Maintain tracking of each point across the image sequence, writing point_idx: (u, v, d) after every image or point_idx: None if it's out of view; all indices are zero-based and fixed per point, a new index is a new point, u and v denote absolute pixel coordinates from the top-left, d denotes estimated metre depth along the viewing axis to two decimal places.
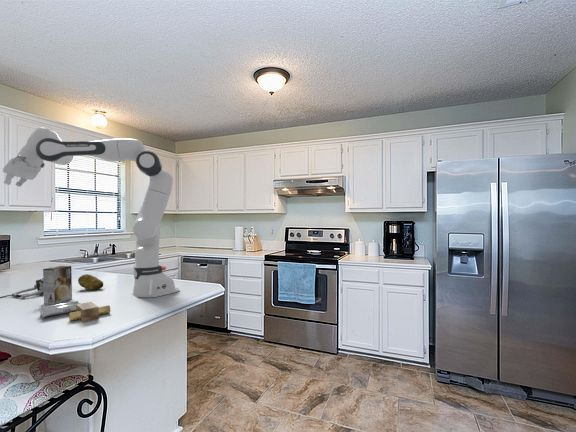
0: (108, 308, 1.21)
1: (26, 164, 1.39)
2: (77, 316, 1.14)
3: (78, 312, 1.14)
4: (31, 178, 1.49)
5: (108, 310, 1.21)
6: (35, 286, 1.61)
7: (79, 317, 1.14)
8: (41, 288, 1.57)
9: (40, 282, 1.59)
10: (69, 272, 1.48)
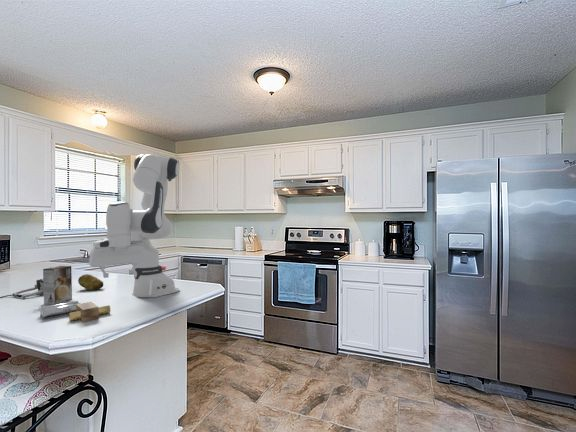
0: (108, 308, 1.21)
1: None
2: (77, 316, 1.14)
3: (78, 312, 1.14)
4: None
5: (108, 310, 1.21)
6: (36, 286, 1.61)
7: (79, 317, 1.14)
8: (42, 288, 1.57)
9: (41, 282, 1.59)
10: (69, 272, 1.48)
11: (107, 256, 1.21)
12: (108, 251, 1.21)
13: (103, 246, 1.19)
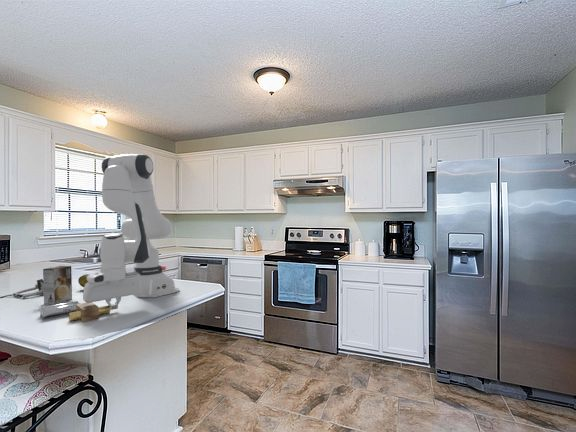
0: (108, 308, 1.21)
1: None
2: (77, 316, 1.14)
3: (78, 312, 1.14)
4: None
5: (108, 310, 1.21)
6: (36, 286, 1.62)
7: (79, 317, 1.14)
8: (42, 288, 1.57)
9: (41, 282, 1.59)
10: (69, 272, 1.48)
11: (101, 290, 1.19)
12: (102, 285, 1.19)
13: (98, 281, 1.17)
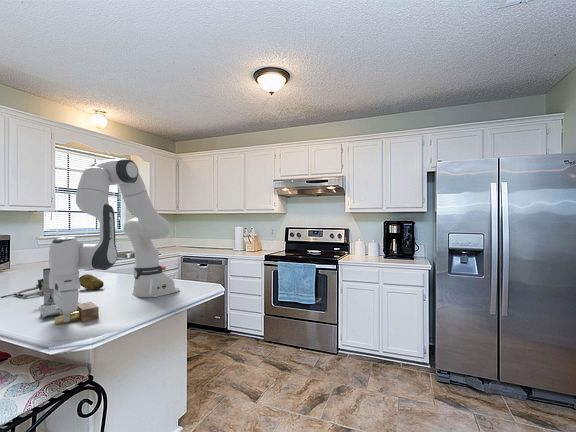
0: None
1: None
2: None
3: None
4: (63, 310, 1.06)
5: None
6: (37, 286, 1.62)
7: None
8: (43, 287, 1.58)
9: (42, 282, 1.60)
10: None
11: None
12: None
13: None
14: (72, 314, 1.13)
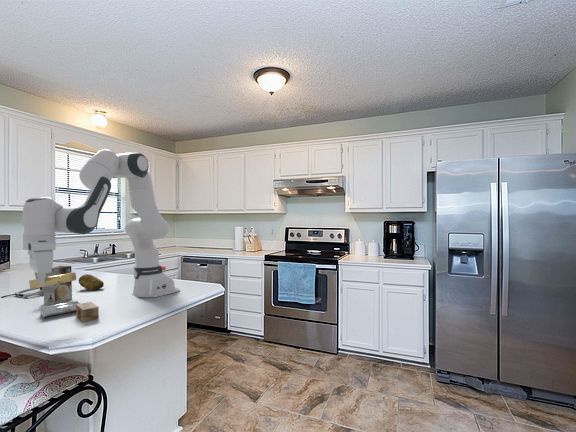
0: (73, 275, 1.13)
1: None
2: (37, 283, 1.05)
3: None
4: (36, 271, 1.00)
5: (73, 277, 1.13)
6: None
7: None
8: (43, 287, 1.58)
9: None
10: (69, 272, 1.48)
11: None
12: None
13: None
14: (48, 278, 1.08)
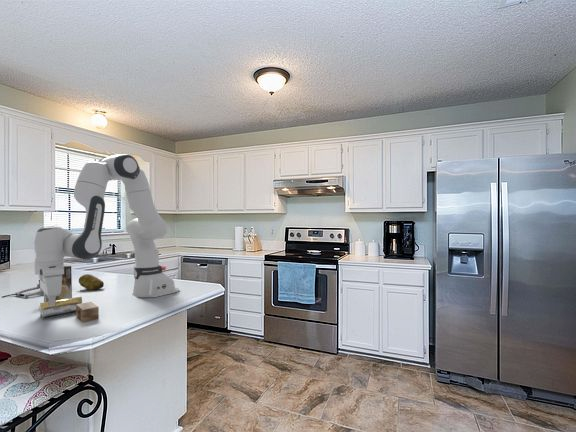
0: (80, 299, 1.25)
1: None
2: (48, 306, 1.17)
3: None
4: (47, 294, 1.12)
5: (80, 301, 1.25)
6: (38, 285, 1.63)
7: (50, 307, 1.18)
8: None
9: None
10: (69, 272, 1.48)
11: None
12: None
13: None
14: (57, 301, 1.20)
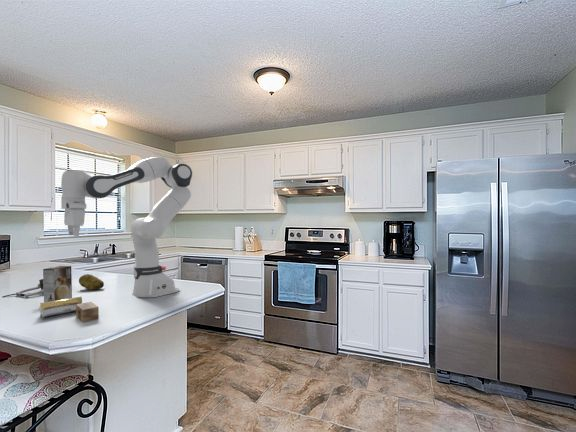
0: (80, 299, 1.25)
1: None
2: (48, 306, 1.17)
3: (49, 303, 1.18)
4: (72, 224, 1.33)
5: (80, 301, 1.25)
6: (39, 285, 1.63)
7: (50, 307, 1.18)
8: None
9: None
10: (69, 272, 1.48)
11: None
12: None
13: None
14: (57, 301, 1.20)
